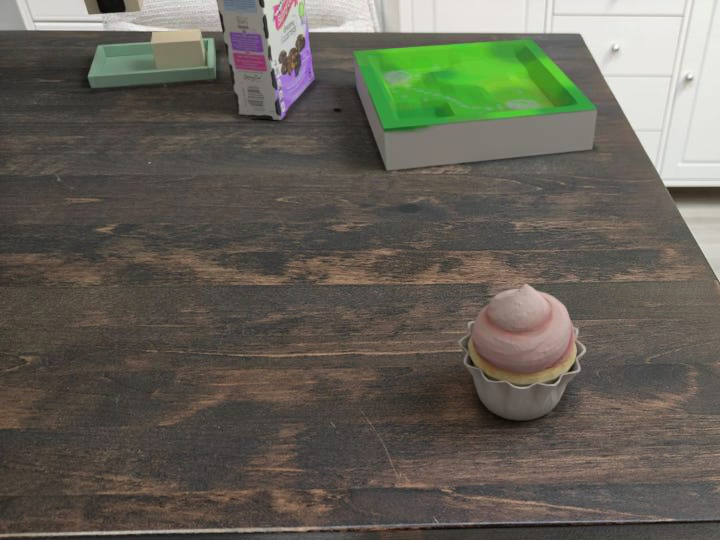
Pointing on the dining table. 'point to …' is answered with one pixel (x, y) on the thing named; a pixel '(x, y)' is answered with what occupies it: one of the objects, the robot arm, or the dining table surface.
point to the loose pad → (132, 4)
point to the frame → (143, 66)
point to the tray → (470, 103)
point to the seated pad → (178, 49)
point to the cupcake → (522, 353)
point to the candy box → (267, 54)
